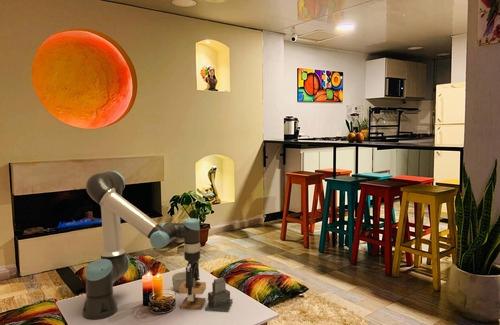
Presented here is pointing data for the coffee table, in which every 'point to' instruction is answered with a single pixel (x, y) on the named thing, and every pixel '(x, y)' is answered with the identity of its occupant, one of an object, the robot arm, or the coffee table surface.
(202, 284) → the brown wooden block
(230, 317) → the coffee table surface
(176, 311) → the coffee table surface
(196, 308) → the stand
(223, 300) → the grey stepped block
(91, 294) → the robot arm
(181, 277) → the teacup
